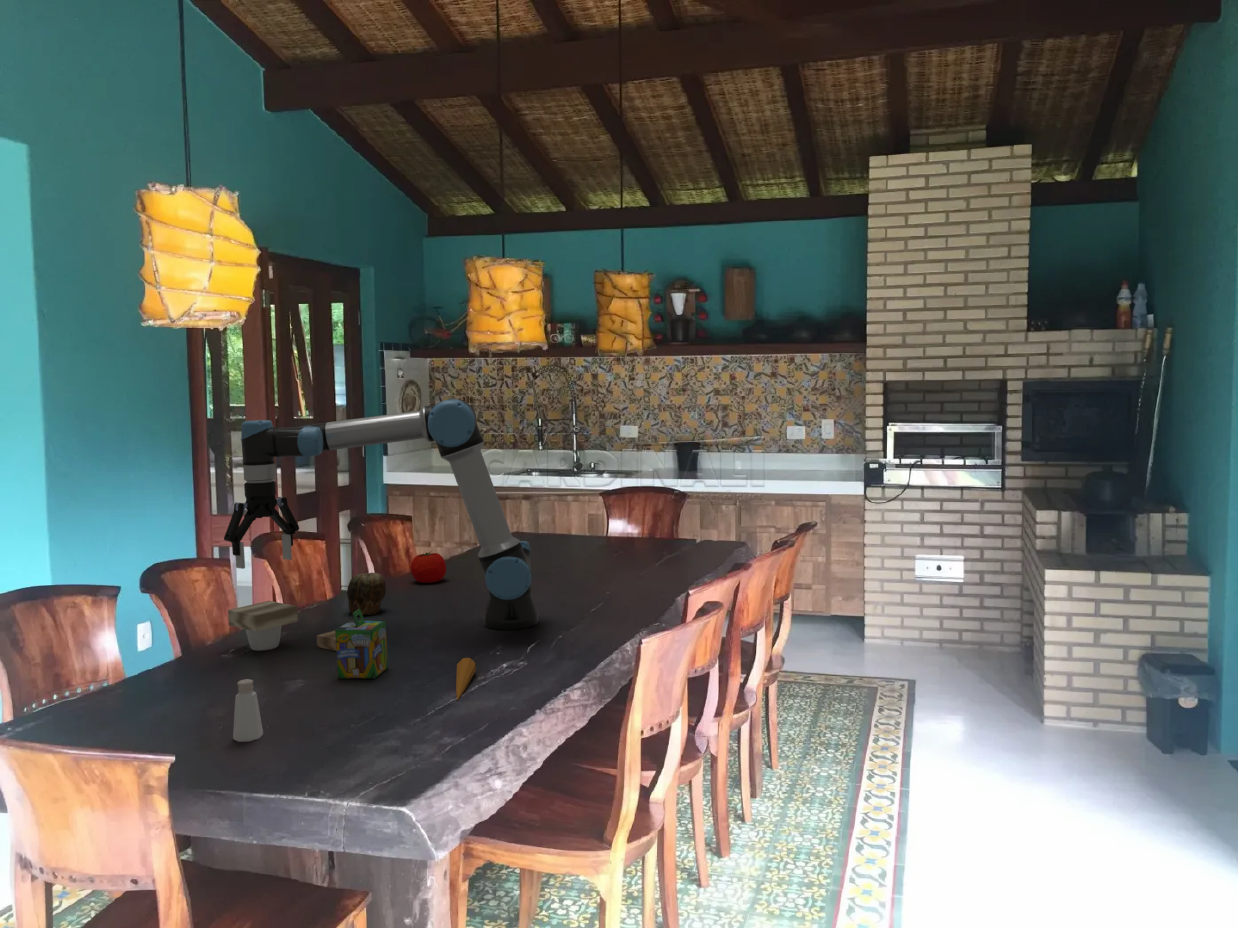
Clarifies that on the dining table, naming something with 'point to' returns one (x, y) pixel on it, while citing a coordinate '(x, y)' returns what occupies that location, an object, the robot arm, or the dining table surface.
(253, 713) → the salt shaker
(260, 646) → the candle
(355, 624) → the chalk box
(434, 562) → the tomato
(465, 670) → the carrot
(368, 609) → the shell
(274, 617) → the cover board
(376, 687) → the dining table surface
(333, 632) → the trivet
